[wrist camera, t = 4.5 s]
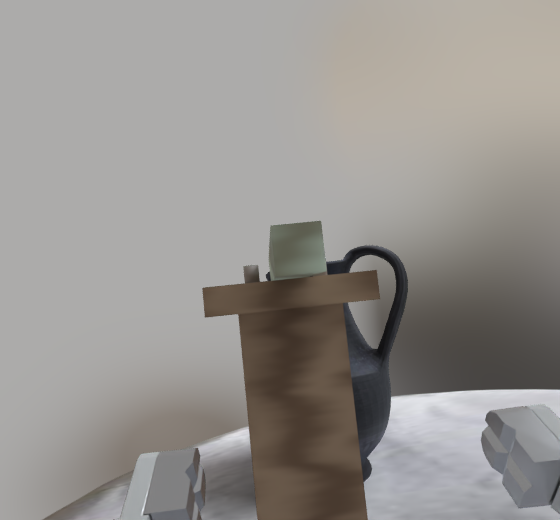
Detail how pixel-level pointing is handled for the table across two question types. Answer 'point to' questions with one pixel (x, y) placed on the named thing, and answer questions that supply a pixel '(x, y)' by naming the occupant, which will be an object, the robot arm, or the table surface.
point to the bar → (296, 250)
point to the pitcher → (371, 356)
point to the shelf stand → (299, 391)
